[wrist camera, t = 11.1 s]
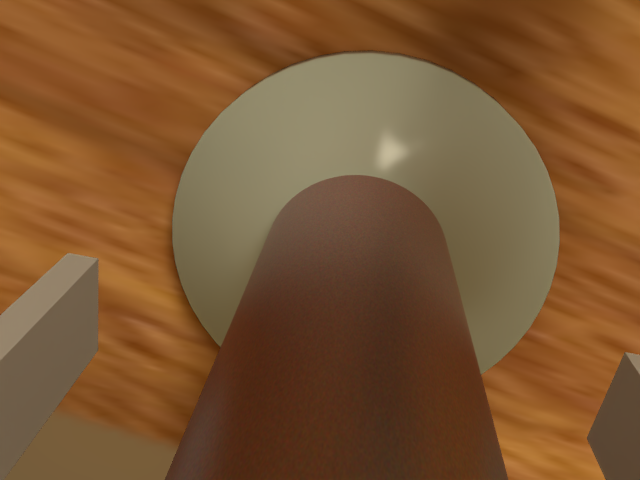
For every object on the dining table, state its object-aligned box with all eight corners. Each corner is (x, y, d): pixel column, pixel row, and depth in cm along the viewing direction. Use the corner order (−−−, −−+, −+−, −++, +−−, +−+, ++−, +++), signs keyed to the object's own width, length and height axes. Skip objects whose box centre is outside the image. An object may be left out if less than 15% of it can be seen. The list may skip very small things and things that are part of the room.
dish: (172, 356, 24) (162, 374, 23) (195, 17, 19) (184, 20, 18) (491, 414, 24) (496, 435, 23) (605, 89, 19) (619, 96, 18)
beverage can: (459, 313, 21) (613, 945, 7) (295, 340, 22) (160, 940, 8) (428, 149, 19) (565, 617, 5) (247, 189, 20) (-43, 666, 6)
